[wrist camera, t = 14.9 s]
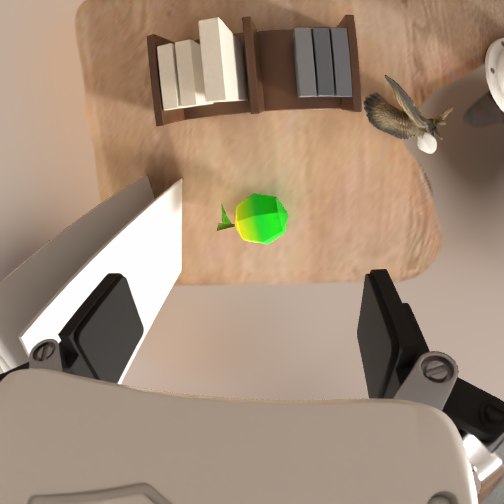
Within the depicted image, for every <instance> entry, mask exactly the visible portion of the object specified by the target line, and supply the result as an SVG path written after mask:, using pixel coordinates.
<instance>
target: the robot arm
mask: <svg viewBox="0 0 504 504" xmlns="http://www.w3.org/2000/svg"><path fill="white" fill-rule="evenodd" d="M485 73H486V79H487V83H488V85H489V89H490V91H491V94H492V96H493V98H494V100H495V102H496V103H497V105H498V106H499V107H500V109H501V110H502V111H503V112H504V38H501V39H497V40H495V41H494V42H493V43H492V44H491V45H490V46H489V48H488V50H487V53H486V58H485ZM143 333H144V327H143V324H142V321H141V318H140V316H139V313H138V310H137V307H136V304H135V302H134V299H133V296H132V293H131V290H130V287H129V284H128V281H127V278H126V277H124V276H123V275H122V274H121V273H108V274H107V275H106V276H105V277H104V278H103V280H102V281H101V282H100V283H99V284H98V285H97V287H96V288H95V289H94V290H93V291H92V292H91V294H90V295H89V296H88V297H87V298H86V300H85V301H84V302H83V303H82V305H81V306H80V307H79V308H78V309H77V311H76V312H75V313H74V314H73V316H72V317H71V318H70V319H69V321H68V322H67V323H66V325H65V326H64V327H63V328H62V330H61V331H60V332H59V334H58V336H59V338H60V339H61V341H60V342H59V343H58V341H56V340H55V339H45V340H42V341H40V342H38V343H37V344H36V345H35V346H34V347H33V348H32V350H31V352H30V355H29V362H27V363H25V364H22V365H20V366H18V367H16V368H13V369H11V370H9V371H7V372H4V373H2V374H0V504H504V402H503V401H502V400H500V399H498V398H497V397H495V396H492V395H491V394H489V393H487V392H485V391H483V390H481V389H479V388H477V387H475V386H473V385H472V384H470V383H468V382H466V381H464V380H462V379H460V378H458V372H459V371H458V366H457V364H456V362H455V361H454V360H453V359H452V358H451V357H450V356H449V355H447V354H445V353H442V352H437V351H431V352H430V351H429V349H428V346H427V344H426V342H425V339H424V337H423V335H422V332H421V330H420V328H419V325H418V323H417V321H416V319H415V317H414V314H413V312H412V310H411V308H410V306H409V304H408V303H402V302H401V300H400V298H399V295H398V293H397V291H396V288H395V286H394V284H393V282H392V280H391V278H390V276H389V274H388V272H387V270H386V269H377V270H371V272H370V274H366V275H365V281H364V289H363V297H362V303H361V310H360V316H359V323H358V329H357V337H358V343H359V347H360V352H361V357H362V362H363V367H364V372H365V378H366V383H367V389H368V395H369V399H338V400H258V399H256V400H255V399H236V398H222V397H210V396H199V395H189V394H180V393H173V392H165V391H158V390H151V389H145V388H138V387H133V386H126V385H121V384H118V382H119V380H120V378H121V376H122V374H123V372H124V370H125V368H126V366H127V364H128V362H129V360H130V358H131V356H132V355H133V353H134V351H135V349H136V347H137V345H138V343H139V341H140V339H141V338H142V336H143ZM470 463H471V464H472V466H473V467H474V468H475V469H474V470H473V471H474V472H475V473H476V475H477V476H478V477H479V479H480V481H481V490H480V493H479V495H478V496H477V493H476V488H475V483H474V479H473V474H472V470H471V465H470ZM430 498H431V499H430Z"/></svg>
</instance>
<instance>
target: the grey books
mask: <svg viewBox="0 0 504 504" xmlns="http://www.w3.org/2000/svg"><path fill="white" fill-rule="evenodd" d="M293 48H294V58H295V70H296V82H297V95H298V97H352V83H351V69H350V57H349V46H348V36H347V29H346V28H330V30H329V28H327V27H313V28H312V31H311V28H310V27H294V35H293Z"/></svg>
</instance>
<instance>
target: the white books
mask: <svg viewBox="0 0 504 504" xmlns="http://www.w3.org/2000/svg"><path fill="white" fill-rule="evenodd" d="M157 51H158V62H159V72H160V82H161V91H162V100H163V108H164V110H171V109H179V108H187V107H193V106H200V105H208V104H213V102H209V103H207V102H206V97H205V88H204V78H203V68H202V58H201V47H200V44H198V43H196V42H194V41H193V40H191V39H188V40H183V41H178V42H175V44H173V43H169V44H165V45H161V46H158V47H157Z"/></svg>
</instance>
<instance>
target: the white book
mask: <svg viewBox="0 0 504 504" xmlns="http://www.w3.org/2000/svg"><path fill="white" fill-rule="evenodd" d="M198 25H199V36H200V47H201V58H202V68H203V78H204V88H205V97H206V102H207V103H209V102H232V101H244V100H248V98H247V87H246V77H245V66H244V56H243V45H242V44H241V43H240V41H239V40H238V39H237V38H236V37H235V35H234V34H233V33H232V32H231V31H230V30H229V29H228V27H227V26H226V25H225V24H224V23H223V22H222V21H221V20H220V18H219V17H216V18H210V19H204V20H199V21H198Z"/></svg>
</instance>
